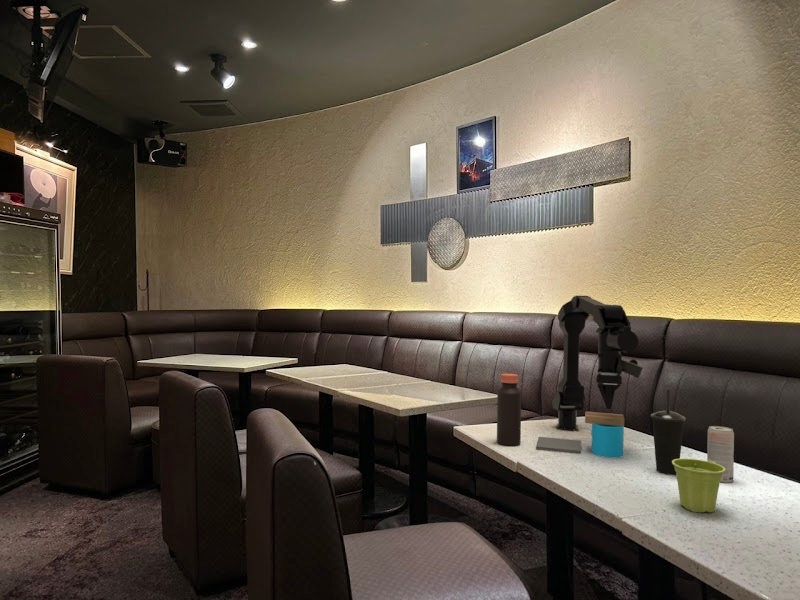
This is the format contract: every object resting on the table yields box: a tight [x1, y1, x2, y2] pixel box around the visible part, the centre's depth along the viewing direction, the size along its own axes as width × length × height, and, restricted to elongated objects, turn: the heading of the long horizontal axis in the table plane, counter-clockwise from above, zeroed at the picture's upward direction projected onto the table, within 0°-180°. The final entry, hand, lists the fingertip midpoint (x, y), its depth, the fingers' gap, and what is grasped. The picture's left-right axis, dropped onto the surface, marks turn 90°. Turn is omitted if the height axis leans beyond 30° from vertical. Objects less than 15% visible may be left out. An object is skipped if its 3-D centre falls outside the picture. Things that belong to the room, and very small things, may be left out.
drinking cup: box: [650, 389, 686, 476], centre depth 133 cm, size 8×8×20 cm
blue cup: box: [590, 424, 625, 458], centre depth 150 cm, size 12×8×8 cm
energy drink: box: [706, 425, 735, 484], centre depth 127 cm, size 5×5×12 cm
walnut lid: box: [584, 411, 625, 427], centre depth 150 cm, size 6×10×2 cm, turn 70°
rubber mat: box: [535, 436, 582, 455], centre depth 155 cm, size 12×12×1 cm
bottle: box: [496, 373, 522, 447], centre depth 157 cm, size 7×7×20 cm
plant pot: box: [672, 458, 725, 513], centre depth 109 cm, size 9×9×9 cm
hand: (609, 406), depth 150 cm, fingers open, 9 cm apart
